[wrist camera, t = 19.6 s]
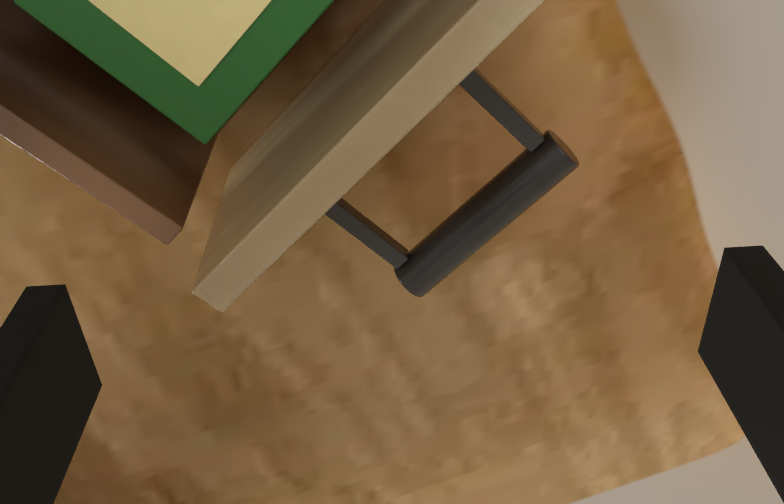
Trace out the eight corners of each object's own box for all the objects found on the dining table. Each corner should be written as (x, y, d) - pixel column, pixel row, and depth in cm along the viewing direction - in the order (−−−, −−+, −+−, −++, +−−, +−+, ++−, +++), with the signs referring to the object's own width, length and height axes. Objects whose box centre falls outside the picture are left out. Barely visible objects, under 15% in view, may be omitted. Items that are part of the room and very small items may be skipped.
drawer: (617, 36, 26) (703, 130, 20) (360, 267, 31) (361, 402, 25) (116, -531, 18) (-24, -698, 11) (-120, -87, 23) (-309, -25, 16)
